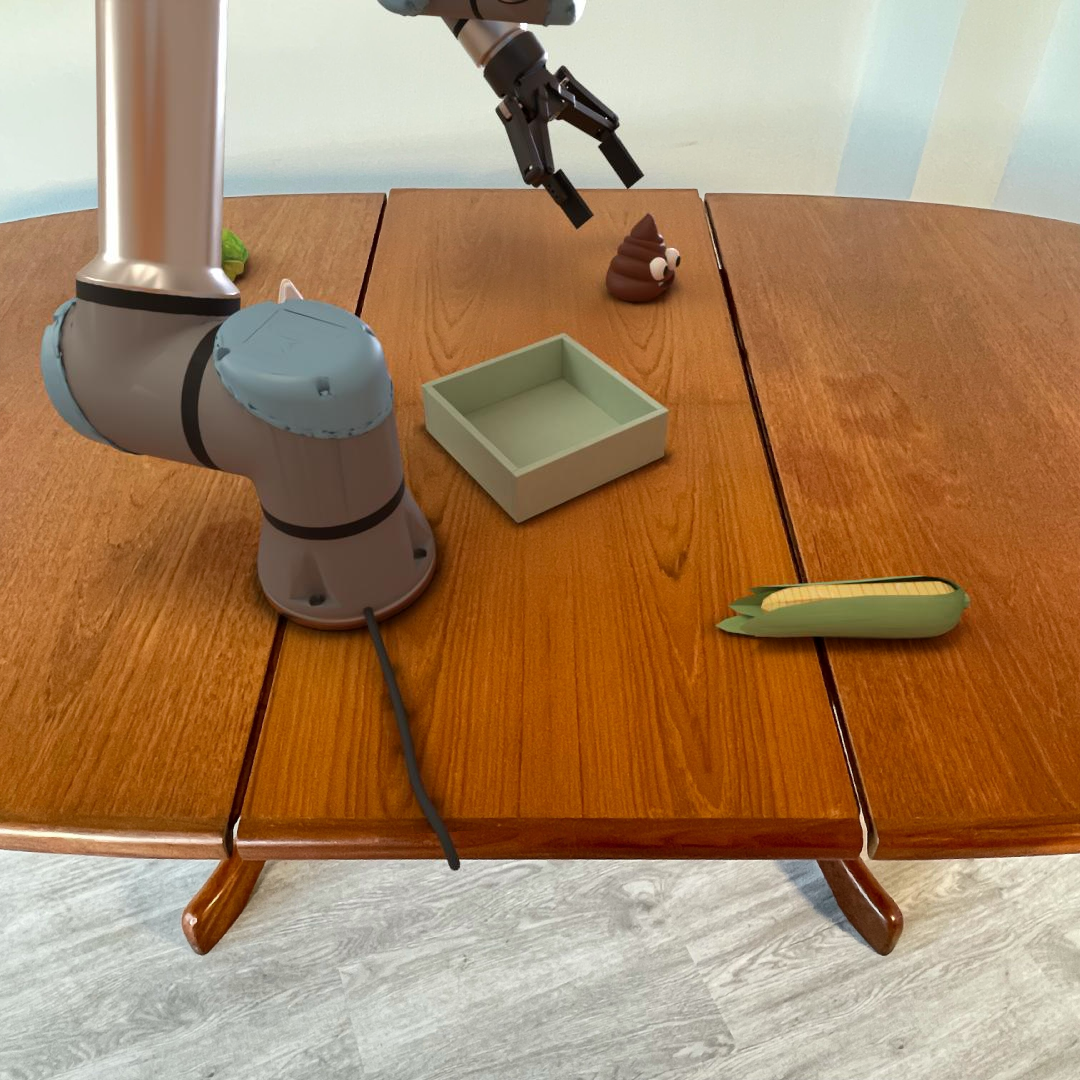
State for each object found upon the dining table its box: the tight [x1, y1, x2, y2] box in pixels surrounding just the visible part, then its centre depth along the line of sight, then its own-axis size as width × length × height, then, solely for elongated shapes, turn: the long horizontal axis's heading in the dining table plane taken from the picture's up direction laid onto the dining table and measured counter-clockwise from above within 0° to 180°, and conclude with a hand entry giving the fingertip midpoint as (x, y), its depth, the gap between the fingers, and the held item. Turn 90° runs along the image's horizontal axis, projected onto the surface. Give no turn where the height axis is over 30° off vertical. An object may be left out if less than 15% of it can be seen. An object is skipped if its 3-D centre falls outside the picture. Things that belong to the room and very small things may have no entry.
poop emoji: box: [605, 212, 681, 303], centre depth 111 cm, size 10×8×9 cm
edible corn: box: [715, 574, 971, 640], centre depth 71 cm, size 5×20×5 cm, turn 92°
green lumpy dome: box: [221, 227, 249, 283], centre depth 116 cm, size 12×11×5 cm
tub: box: [420, 332, 670, 524], centre depth 88 cm, size 18×18×6 cm
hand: (611, 202), depth 109 cm, fingers open, 13 cm apart
